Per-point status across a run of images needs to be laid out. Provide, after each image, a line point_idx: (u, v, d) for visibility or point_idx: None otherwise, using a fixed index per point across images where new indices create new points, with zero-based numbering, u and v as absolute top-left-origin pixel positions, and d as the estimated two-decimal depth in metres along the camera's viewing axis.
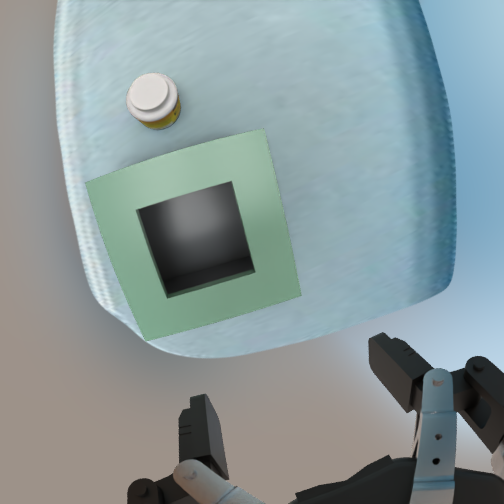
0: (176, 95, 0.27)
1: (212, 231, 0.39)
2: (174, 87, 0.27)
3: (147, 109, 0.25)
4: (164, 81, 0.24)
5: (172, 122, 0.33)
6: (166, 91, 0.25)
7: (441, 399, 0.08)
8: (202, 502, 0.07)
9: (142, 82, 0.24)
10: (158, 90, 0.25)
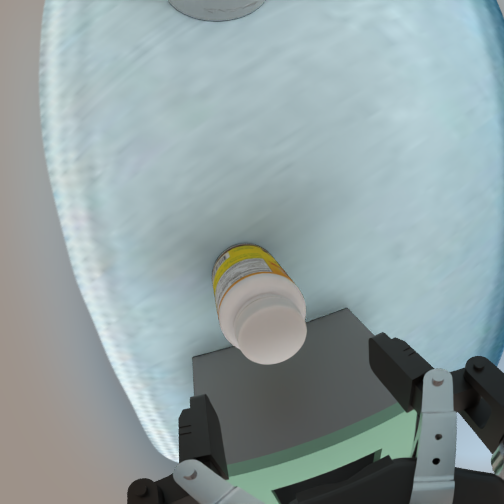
0: (305, 315, 0.19)
1: None
2: (303, 304, 0.18)
3: None
4: (302, 321, 0.16)
5: None
6: (304, 336, 0.17)
7: (441, 399, 0.08)
8: (202, 502, 0.07)
9: (262, 323, 0.16)
10: (291, 336, 0.16)
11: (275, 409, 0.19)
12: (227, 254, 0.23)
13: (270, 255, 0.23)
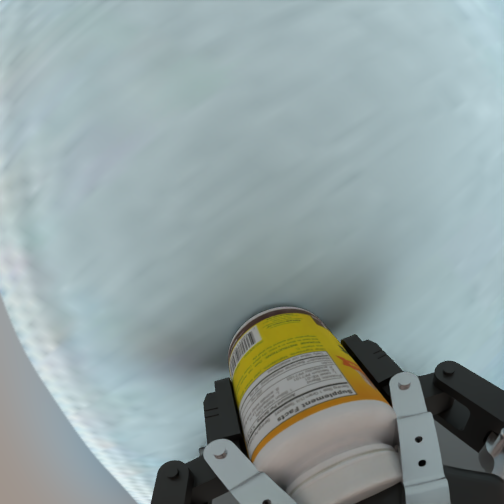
0: None
1: None
2: None
3: None
4: None
5: None
6: None
7: (412, 402, 0.08)
8: (225, 482, 0.07)
9: None
10: None
11: None
12: (256, 331, 0.13)
13: (327, 329, 0.13)
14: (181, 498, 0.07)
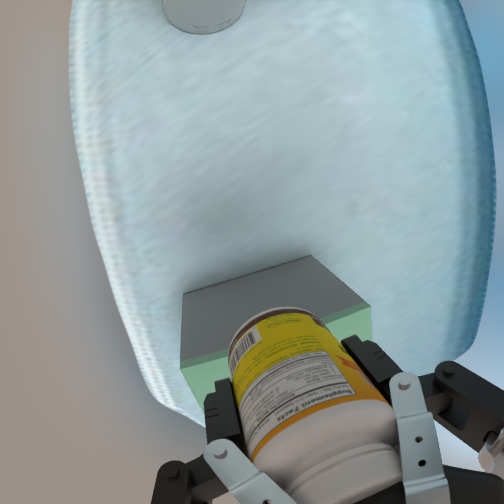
0: None
1: None
2: None
3: None
4: None
5: None
6: None
7: (412, 402, 0.08)
8: (225, 482, 0.07)
9: None
10: None
11: (244, 318, 0.26)
12: (255, 331, 0.13)
13: (326, 329, 0.13)
14: (181, 498, 0.07)
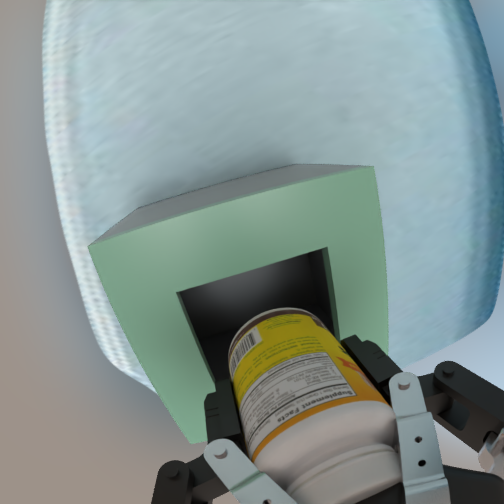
0: None
1: (258, 281, 0.31)
2: None
3: None
4: None
5: None
6: None
7: (412, 402, 0.08)
8: (226, 482, 0.07)
9: None
10: None
11: (195, 200, 0.19)
12: (256, 332, 0.13)
13: (327, 330, 0.13)
14: (181, 498, 0.07)
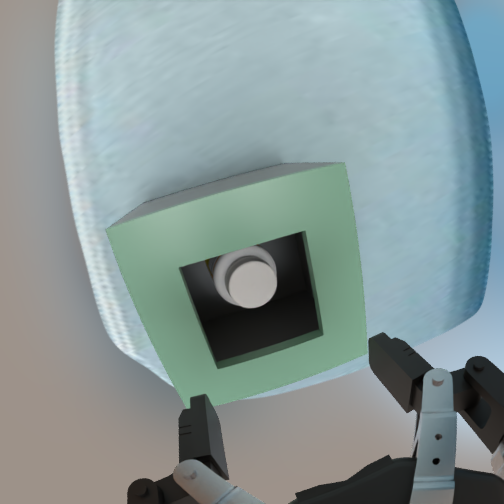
0: None
1: None
2: (274, 266, 0.26)
3: (252, 307, 0.24)
4: (273, 273, 0.24)
5: None
6: (275, 286, 0.24)
7: (442, 399, 0.08)
8: (202, 502, 0.07)
9: (245, 273, 0.23)
10: (266, 285, 0.24)
11: (195, 193, 0.22)
12: None
13: None
14: None
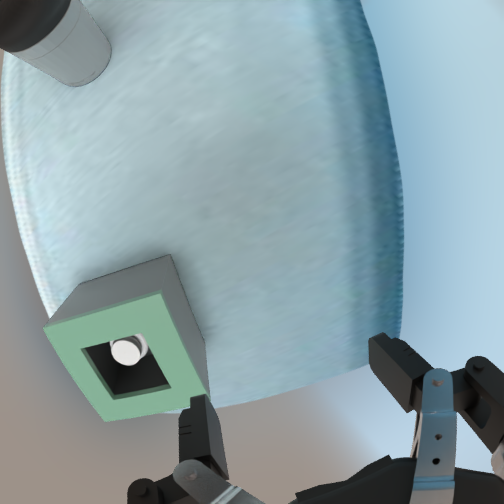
0: (147, 345, 0.37)
1: None
2: (145, 340, 0.36)
3: (128, 364, 0.35)
4: (136, 348, 0.34)
5: None
6: (139, 355, 0.34)
7: (441, 399, 0.08)
8: (202, 502, 0.07)
9: (119, 346, 0.34)
10: (133, 354, 0.34)
11: (92, 299, 0.33)
12: None
13: None
14: None
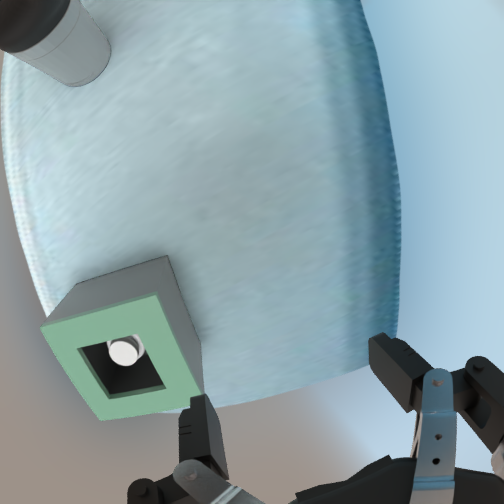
0: None
1: None
2: None
3: None
4: (134, 349, 0.34)
5: None
6: (136, 356, 0.35)
7: (442, 399, 0.08)
8: (202, 502, 0.07)
9: (117, 347, 0.34)
10: (130, 354, 0.34)
11: (88, 299, 0.33)
12: None
13: None
14: None
